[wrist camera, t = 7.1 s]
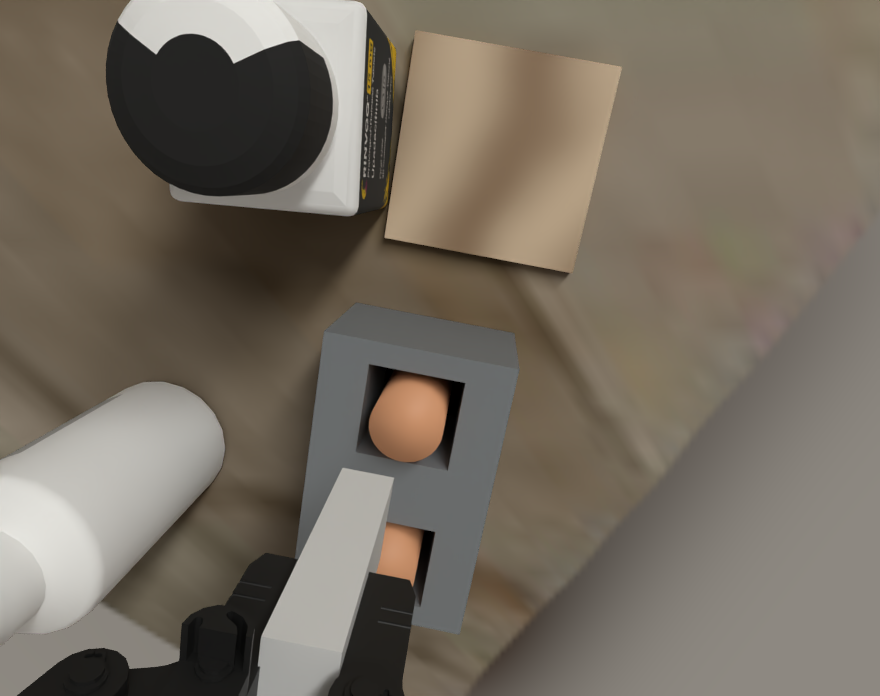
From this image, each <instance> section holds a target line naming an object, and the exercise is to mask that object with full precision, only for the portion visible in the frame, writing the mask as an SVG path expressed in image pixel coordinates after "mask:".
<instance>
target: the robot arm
mask: <svg viewBox="0 0 880 696" xmlns="http://www.w3.org/2000/svg"><path fill="white" fill-rule="evenodd" d="M393 481H394V478H393V477H388V476H383V475H378V474H373V473H368V472H363V471H357V470H352V469H347V468H342V470H341V472H340V474H339V476H338V478H337V480H336V482H335V485H334V487H333V489H332V491H331V493H330V495H329V497H328V499H327V501H326V503H325V505H324V507H323V509H322V511H321V514H320V516H319V518H318V520H317V522H316V524H315V526H314V528H313V530H312V532H311V534H310V536H309V538H308V540H307V543H306V545H305V547H304V549H303V551H302V553H301V555H300V557H299V559H294V558H289V557H284V556H279V555H274V554H269V553H265V554H264V555H262V556H261V557H260V558H258V559H257V560H255V561H254V562H252V563H251V564H250V565H249V566H248V568H247V570H246V571H245V573H244V575H243V576H242V578H241V580H240V583H238V585H237V586H236V588H235V590H234V591H233V594H232V596H230V598H229V600H228V601H227V603H226V605H225V606H224V605H216V606H211V607H207V608H203V609H201V610H199V611H197V612H195V613H193V614H191V615H190V616H189V617H188V618H187V619H186V620H185V621H184V622H183V623H182V629H181V644H180V659H179V661H178V662H175V663H172V664H169V665H165V666H159V667H150V668H137V669H129V666H128V663H127V660H126V658H125V657H124V656H122V655H121V654H120V653H118V652H117V651H114V650H109V649H105V648H99V649H88V650H84V651H81V652H78V653H75V654H72V655H70V656H68V657H67V658H65V659H64V660H62V661H60V662H59V663H57V664H56V665H55V666H53V667H52V668H51V669H50V670H48V671H47V672H46V673H45V674H43V675H42V676H41V677H40V678H38V679H37V680H36V681H35V682H33V683H32V684H31V685H30V686H28V687H27V688H26V689H25V690H23V691H22V692H21V693H20V694H18V695H17V696H404V692H403V689H402V679H403V673H404V667H405V661H406V654H407V648H408V642H409V636H410V629H411V623H412V617H413V611H414V605H415V599H416V595H415V592H414V590H413V587H412V584H411V582H410V580H408V579H403V578H398V577H393V576H387V575H382V574H377V573H376V572H377V568H378V564H379V561H380V556H381V551H382V545H383V539H384V533H385V527H386V522H387V516H388V510H389V504H390V499H391V493H392V487H393Z"/></svg>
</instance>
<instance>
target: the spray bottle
mask: <svg viewBox="0 0 880 696" xmlns="http://www.w3.org/2000/svg"><path fill="white" fill-rule="evenodd" d="M224 452H225V443H224V437H223V430H222V428H221V426H220V424H219V422H218V419H217V417H216V415H215V413H214V412H213V411H212V410H211V409H210V407H209V406H208V405H207V404H206V403H205V402H204V401H203V400H202V399H201V398H200V397H198V396H197V395H195V394H194V393H192V392H190V391H189V390H187V389H186V388H184V387H181V386H177V385H174V384H170V383H167V382H142V383H140V384H137V385H134V386H131V387H129V388H126V389H124V390H123V391H121V392H119V393H117V394H116V395H114V396H112V397H110V398H108V399H107V400H105V401H103V402H101V403H100V404H98V405H96V406H94V407H92V408H91V409H89V410H87V411H85V412H84V413H82V414H80V415H78V416H77V417H75V418H73V419H71V420H69V421H68V422H66V423H64V424H62V425H61V426H59V427H57V428H55V429H53V430H52V431H50V432H48V433H46V434H45V435H43V436H41V437H39V438H38V439H36V440H34V441H32V442H30V443H29V444H27V445H25V446H23V447H22V448H20V449H18V450H16V451H14V452H13V453H11V454H9V455H7V456H6V457H4V458H2V459H0V646H1V645H3V644H4V643H5V642H6V641H7V640H8V639H9V638H11V637H12V636H13V634H15V633H19V634H48V633H52V632H55V631H59V630H62V629H66V628H69V627H70V626H72V625H74V624H75V623H76V622H78V621H79V620H80V619H82V618H83V617H84V616H86V615H87V614H88V613H90V612H91V611H92V610H93V609H94V608H95V607H96V606H97V605H98V604H99V603H100V602H101V601H102V600H103V599H104V597H105V596H106V595H107V594H108V593H109V592H110V591H111V590H112V589H113V588H114V587H115V586H116V585H117V584H118V582H119V581H120V580H121V579H122V578H123V577H124V576H125V575H126V574H127V573H128V572H129V571H130V570H131V569H132V567H133V566H134V565H135V564H136V563H137V562H138V561H139V560H140V559H141V558H142V557H143V556H144V555H145V554H146V552H147V551H148V550H149V549H150V548H151V547H152V546H153V545H154V544H155V543H156V542H157V541H158V540H159V539H160V538H161V536H162V535H163V534H164V533H165V532H166V531H167V530H168V529H169V528H170V527H171V526H172V525H173V524H174V523H175V521H176V520H177V519H178V518H179V517H180V516H181V515H182V514H183V513H184V512H185V511H186V510H187V509H188V508H189V506H190V505H191V504H192V503H193V502H194V501H195V500H196V499H197V498H198V497H199V496H200V495H201V494H202V493H203V491H204V490H205V489H206V488H207V487H208V486H209V485H210V484H211V483H212V482H213V480H214V479H215V477H216V476H217V474H218V472H219V471H220V469H221V467H222V463H223V458H224Z"/></svg>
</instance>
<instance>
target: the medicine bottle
mask: <svg viewBox="0 0 880 696" xmlns="http://www.w3.org/2000/svg"><path fill="white" fill-rule="evenodd" d="M395 64H396V50H395V47H394V46H393V45H392V43H391V42H390V40H389V39H388V38H387V36H386V35H385V34H384V32H383V31H382V29H381V28H380V27H379V25H378V24H377V23H376V21H375V20H374V19H373V17H372V16H371V14H370V13H369V12H368V10H367V9H366V8H365V6H364V5H363V4H362V3H360V2H357V1H345V0H131V1H130V2H129V3H128V5H127V6H126V7H125V9H124V10H123V12H122V14H121V15H120V17H119V19H118V21H117V23H116V25H115V28H114V30H113V32H112V35H111V39H110V43H109V47H108V52H107V60H106V84H107V92H108V98H109V102H110V106H111V110H112V113H113V115H114V118H115V121H116V123H117V126H118V128H119V130H120V132H121V134H122V135H123V137H124V139H125V141H126V142H127V144H128V145H129V147H130V148H131V150H132V151H133V152H134V154H135V155H136V156H137V157H138V158H139V159H140V160H141V162H142V163H143V164H144V165H145V166H146V167H148V168H149V169H150V170H151V171H152V172H153V173H154V174H156V175H157V176H159V177H160V178H162V179H163V180H164V181H166V182H168V183H170V193H171V195H172V196H173V198H174V199H176V200H179V201H183V202H194V203H206V204H217V205H228V206H239V207H250V208H261V209H272V210H283V211H295V212H306V213H317V214H328V215H339V216H353V215H357V214H361V213H365V212H369V211H374V210H378V209H382V208H384V207H385V206H386V205H387V202H388V187H389V169H390V152H391V134H392V117H393V99H394V81H395Z"/></svg>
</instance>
